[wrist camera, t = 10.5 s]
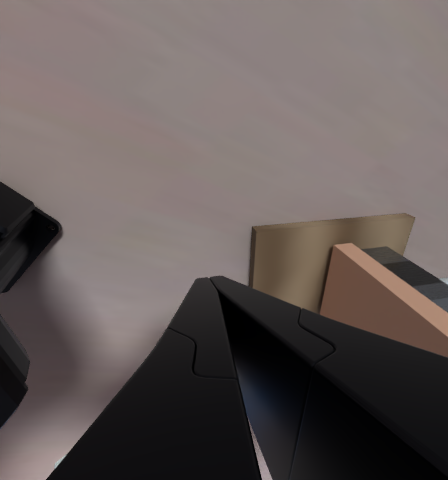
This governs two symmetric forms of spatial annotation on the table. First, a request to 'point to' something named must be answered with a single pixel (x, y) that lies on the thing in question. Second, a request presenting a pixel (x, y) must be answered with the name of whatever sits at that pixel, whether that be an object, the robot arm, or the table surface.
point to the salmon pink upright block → (381, 302)
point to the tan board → (315, 253)
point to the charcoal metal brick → (412, 275)
